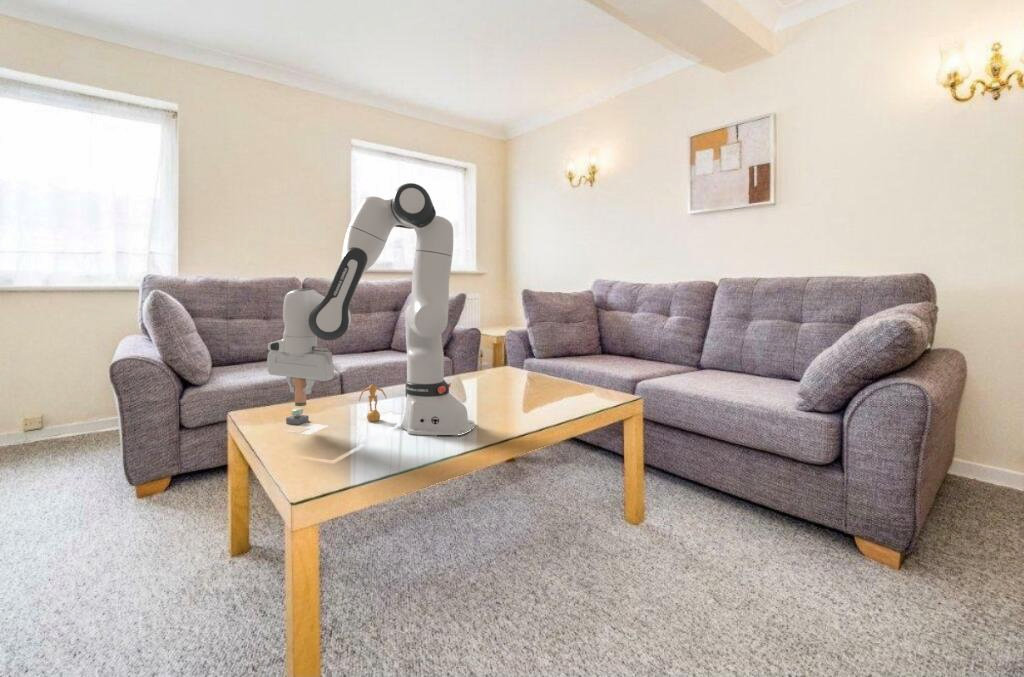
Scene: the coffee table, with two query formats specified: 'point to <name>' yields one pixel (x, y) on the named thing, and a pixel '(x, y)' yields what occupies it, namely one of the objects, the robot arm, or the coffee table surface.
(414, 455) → the coffee table surface
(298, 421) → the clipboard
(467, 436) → the coffee table surface
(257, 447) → the coffee table surface
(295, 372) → the robot arm
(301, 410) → the button
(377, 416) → the figurine
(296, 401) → the cylinder
